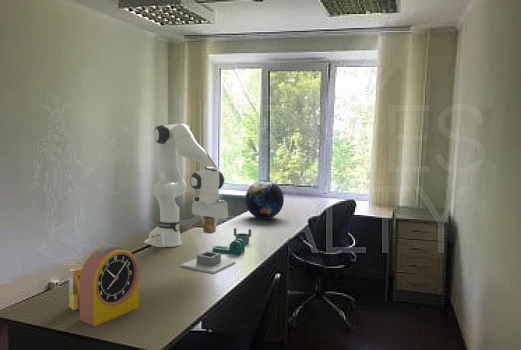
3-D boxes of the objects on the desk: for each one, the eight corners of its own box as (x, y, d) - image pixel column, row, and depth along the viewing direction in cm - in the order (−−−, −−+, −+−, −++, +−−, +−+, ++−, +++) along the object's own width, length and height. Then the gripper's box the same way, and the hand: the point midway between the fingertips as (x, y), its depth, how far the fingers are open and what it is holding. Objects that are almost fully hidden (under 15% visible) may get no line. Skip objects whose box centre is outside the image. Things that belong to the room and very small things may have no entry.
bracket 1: (244, 252, 264) (245, 239, 263) (240, 255, 257) (241, 241, 256) (215, 249, 269) (215, 235, 268) (210, 252, 262) (211, 238, 262)
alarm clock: (95, 326, 164) (94, 253, 161) (78, 319, 169) (78, 249, 166) (139, 307, 182) (139, 241, 179) (123, 301, 187) (123, 238, 184)
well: (181, 266, 234) (181, 255, 233) (203, 257, 252) (204, 247, 251) (214, 273, 225) (214, 262, 224) (235, 263, 242) (235, 253, 242)
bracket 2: (252, 244, 282) (252, 229, 282) (238, 245, 278) (239, 230, 277) (245, 240, 290) (245, 226, 289) (231, 242, 285) (232, 227, 285)
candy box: (90, 301, 186) (90, 264, 184) (95, 304, 183) (95, 267, 181) (68, 307, 179) (68, 269, 178) (73, 310, 176) (73, 271, 175)
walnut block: (203, 232, 235) (203, 217, 234) (208, 230, 239) (208, 215, 238) (210, 233, 233) (210, 218, 232) (215, 232, 237) (215, 216, 236)
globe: (259, 213, 379) (260, 176, 375) (290, 218, 361) (291, 180, 358) (236, 218, 355) (237, 179, 351) (268, 224, 337) (270, 184, 334)
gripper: (230, 200, 232) (230, 227, 234) (197, 195, 242) (197, 221, 243) (224, 201, 227) (223, 229, 228) (190, 197, 236) (189, 223, 238)
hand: (209, 225), depth 236 cm, fingers closed on walnut block, 4 cm apart
